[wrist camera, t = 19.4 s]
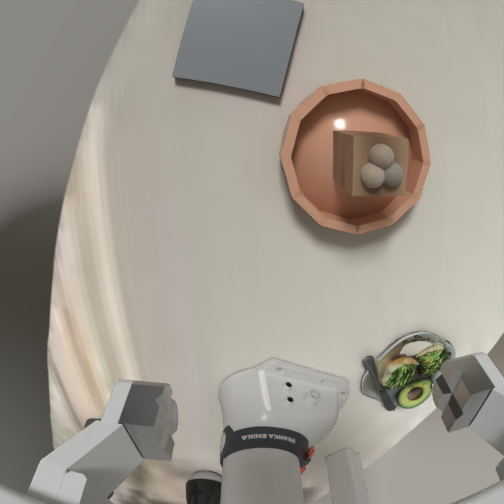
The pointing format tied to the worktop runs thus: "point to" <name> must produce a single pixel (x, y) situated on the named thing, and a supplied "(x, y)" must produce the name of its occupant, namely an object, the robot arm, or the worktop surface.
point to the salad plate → (405, 371)
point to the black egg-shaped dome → (204, 488)
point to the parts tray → (239, 43)
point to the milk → (346, 478)
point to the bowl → (321, 153)
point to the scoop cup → (370, 163)
